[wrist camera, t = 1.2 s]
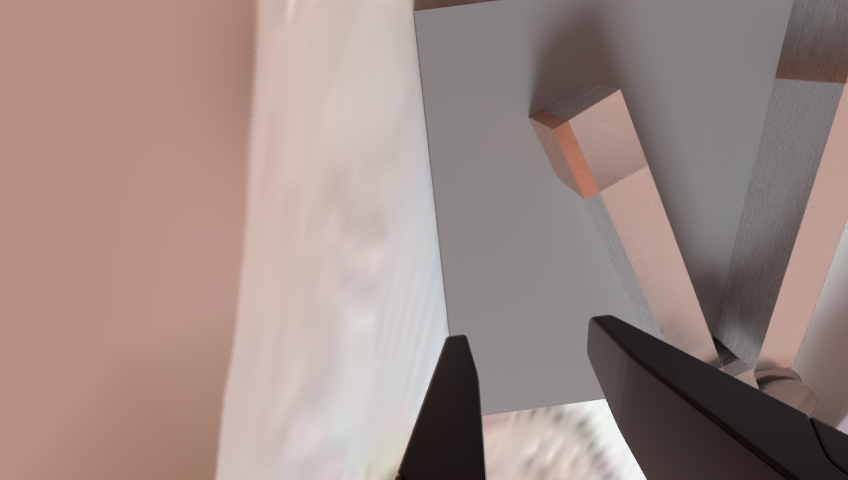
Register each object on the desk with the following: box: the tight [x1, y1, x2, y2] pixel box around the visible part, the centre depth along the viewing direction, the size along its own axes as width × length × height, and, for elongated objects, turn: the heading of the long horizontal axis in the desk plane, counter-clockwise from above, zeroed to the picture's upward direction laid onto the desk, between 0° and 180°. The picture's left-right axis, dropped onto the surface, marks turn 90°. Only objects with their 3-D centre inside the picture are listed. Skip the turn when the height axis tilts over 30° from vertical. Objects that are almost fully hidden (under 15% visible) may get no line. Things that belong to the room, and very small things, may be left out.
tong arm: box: [528, 83, 816, 417], centre depth 19 cm, size 21×6×4 cm, turn 31°
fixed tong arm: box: [712, 0, 848, 383], centre depth 19 cm, size 21×4×3 cm, turn 6°
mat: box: [413, 0, 794, 416], centre depth 21 cm, size 22×20×1 cm
